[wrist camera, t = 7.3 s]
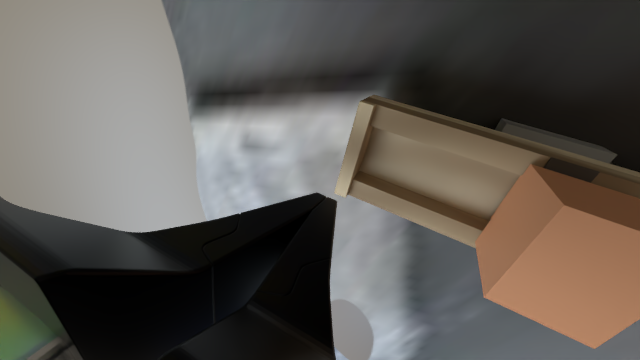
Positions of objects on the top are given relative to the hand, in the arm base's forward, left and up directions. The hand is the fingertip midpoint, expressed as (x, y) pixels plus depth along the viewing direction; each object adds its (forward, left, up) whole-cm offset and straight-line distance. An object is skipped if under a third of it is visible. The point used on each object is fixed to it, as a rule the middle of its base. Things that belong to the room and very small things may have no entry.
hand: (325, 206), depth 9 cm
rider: (0, -9, -8) cm, 12 cm away
